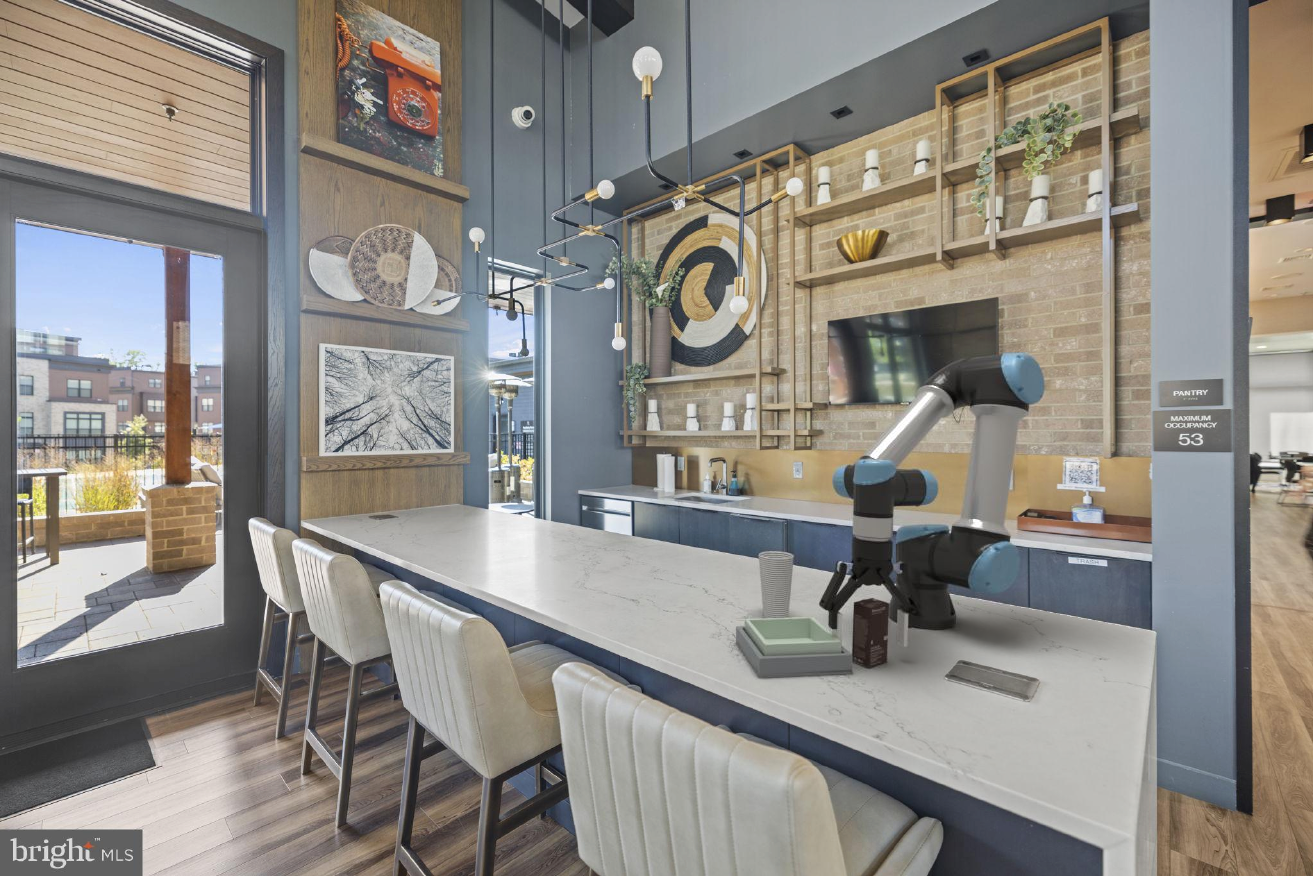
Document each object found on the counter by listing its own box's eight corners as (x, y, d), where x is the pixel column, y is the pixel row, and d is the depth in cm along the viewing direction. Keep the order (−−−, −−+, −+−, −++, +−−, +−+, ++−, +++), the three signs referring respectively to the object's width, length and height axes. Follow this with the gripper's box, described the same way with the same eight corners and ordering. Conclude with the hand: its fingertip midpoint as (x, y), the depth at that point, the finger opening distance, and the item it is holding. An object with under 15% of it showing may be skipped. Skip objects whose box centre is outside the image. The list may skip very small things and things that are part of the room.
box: (870, 669, 111) (870, 607, 111) (851, 661, 115) (851, 601, 115) (889, 662, 115) (890, 602, 114) (870, 655, 118) (870, 596, 118)
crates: (816, 639, 127) (816, 614, 127) (852, 673, 109) (852, 644, 109) (735, 642, 125) (736, 617, 125) (759, 678, 107) (759, 647, 107)
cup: (798, 615, 144) (798, 553, 144) (786, 625, 137) (786, 559, 136) (766, 610, 148) (766, 549, 148) (752, 619, 141) (753, 555, 141)
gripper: (921, 534, 119) (918, 637, 119) (804, 533, 117) (801, 638, 117) (943, 541, 112) (939, 650, 112) (819, 540, 109) (816, 652, 109)
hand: (869, 645), depth 114 cm, fingers open, 13 cm apart
